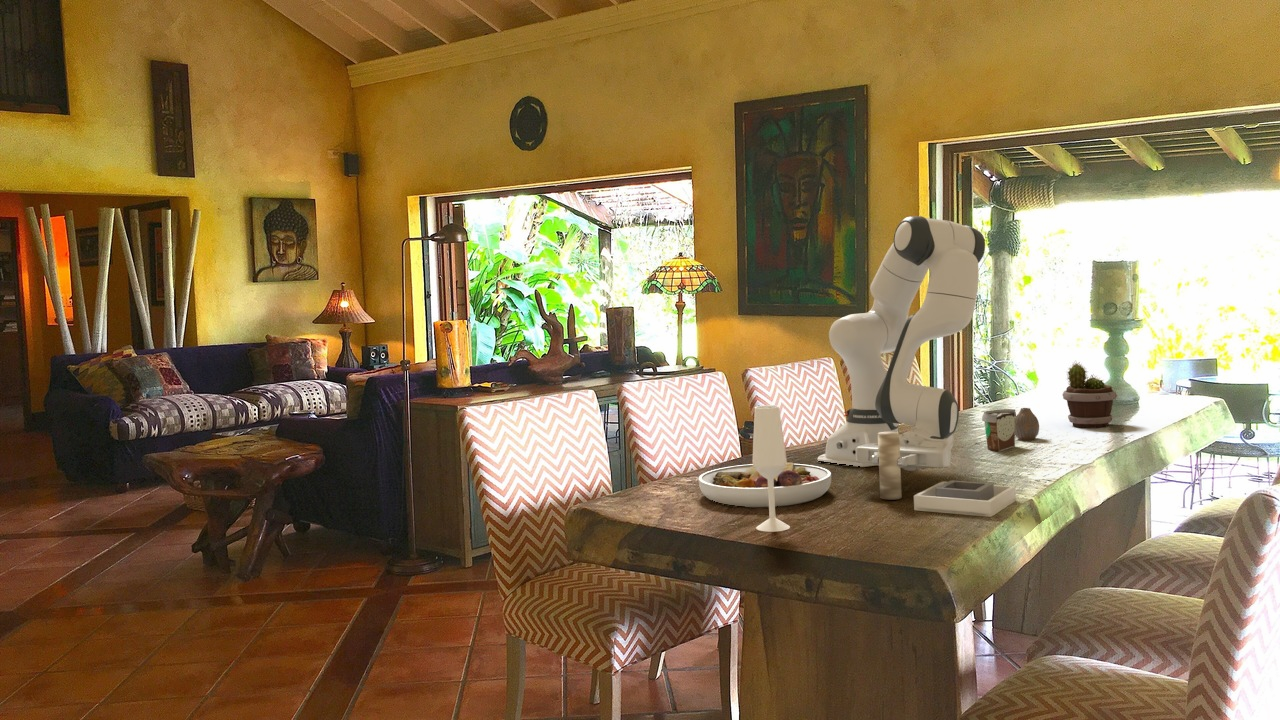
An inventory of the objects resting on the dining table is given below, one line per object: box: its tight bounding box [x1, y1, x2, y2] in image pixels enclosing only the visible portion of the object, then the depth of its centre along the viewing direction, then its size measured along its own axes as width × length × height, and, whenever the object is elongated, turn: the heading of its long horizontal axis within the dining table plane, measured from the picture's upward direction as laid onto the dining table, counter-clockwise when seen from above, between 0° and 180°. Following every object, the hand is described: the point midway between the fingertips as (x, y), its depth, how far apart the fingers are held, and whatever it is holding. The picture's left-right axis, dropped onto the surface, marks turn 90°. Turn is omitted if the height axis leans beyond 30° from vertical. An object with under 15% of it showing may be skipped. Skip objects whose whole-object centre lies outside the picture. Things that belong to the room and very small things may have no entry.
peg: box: [878, 431, 903, 501], centre depth 215 cm, size 4×4×14 cm
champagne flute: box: [751, 404, 791, 533], centre depth 196 cm, size 7×7×24 cm
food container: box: [981, 408, 1017, 453], centre depth 269 cm, size 12×6×10 cm, turn 135°
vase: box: [1015, 407, 1040, 441], centre depth 281 cm, size 7×7×9 cm
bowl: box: [698, 461, 832, 508], centre depth 227 cm, size 30×30×8 cm
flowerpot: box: [1061, 361, 1118, 429], centre depth 297 cm, size 14×15×20 cm
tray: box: [913, 479, 1017, 518], centre depth 205 cm, size 16×16×4 cm
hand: (887, 461), depth 214 cm, fingers closed on peg, 4 cm apart
